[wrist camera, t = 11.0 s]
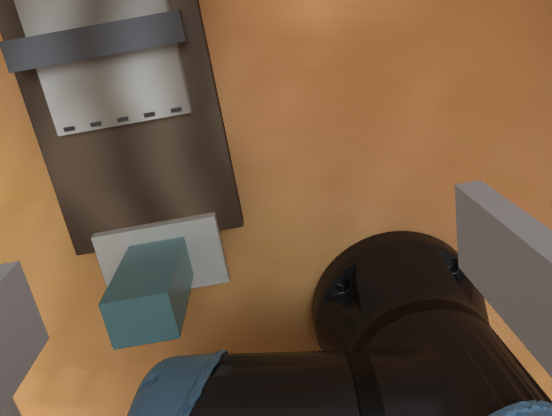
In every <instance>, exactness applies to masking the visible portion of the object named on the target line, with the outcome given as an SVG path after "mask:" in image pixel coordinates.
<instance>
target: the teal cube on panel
mask: <svg viewBox="0 0 552 416" xmlns="http://www.w3.org/2000/svg"><path fill="white" fill-rule="evenodd" d="M91 240H92V243H93V246H94V249H95V252H96V256H97V259H98V262H99V265H100V268H101V271H102V274H103V277H104V280H105V283H106V286H107V289H106V291H105V293H104V295H103V297H102V299H101V301H100V303H99V308H100V311H101V314H102V317H103V320H104V323H105V326H106V329H107V332H108V335H109V338H110V341H111V344H112V347H113V349H114V350H115V349H121V348H126V347H132V346H138V345H144V344H150V343H155V342H161V341H167V340H173V339H179V338H180V337H181V332H182V327H183V322H184V318H185V313H186V308H187V303H188V299H189V294H190V289H193V288H198V287H204V286H210V285H216V284H221V283H227V282H229V279H230V276H229V271H228V267H227V262H226V258H225V253H224V249H223V245H222V240H221V236H220V231H219V227H218V222H217V218H216V214H215V212H212V213H206V214H200V215H195V216H189V217H183V218H178V219H172V220H166V221H160V222H155V223H149V224H143V225H138V226H132V227H126V228H121V229H115V230H109V231H103V232H98V233H94V234H93V236H92V237H91Z"/></svg>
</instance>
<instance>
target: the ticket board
mask: <svg viewBox="0 0 552 416" xmlns="http://www.w3.org/2000/svg"><path fill="white" fill-rule="evenodd" d="M0 32H1V35H2V38H3V41H2V42H0V47H1V50H2V53H3V56H4V59H5V62H6V65H7V68H8V71H9V73H12V72H14V73H15V76H16V79H17V82H18V85H19V88H20V91H21V93H22V96H23V99H24V102H25V105H26V108H27V111H28V114H29V117H30V120H31V123H32V126H33V129H34V132H35V135H36V137H37V140H38V143H39V146H40V149H41V152H42V155H43V158H44V161H45V164H46V167H47V170H48V173H49V176H50V179H51V181H52V184H53V187H54V190H55V193H56V196H57V199H58V202H59V205H60V208H61V211H62V214H63V217H64V220H65V223H66V225H67V228H68V231H69V234H70V237H71V240H72V243H73V246H74V249H75V252H76V255H81V254H87V253H93V252H95V249H94V246H93V243H92V240H91V237H92V236H93V234H94V233H98V232H103V231H109V230H115V229H121V228H126V227H132V226H138V225H143V224H149V223H155V222H160V221H166V220H172V219H178V218H183V217H189V216H195V215H200V214H206V213H212V212H215V214H216V218H217V222H218V227H219V230H224V229H230V228H236V227H241V226H243V215H242V210H241V205H240V200H239V196H238V191H237V186H236V181H235V176H234V171H233V166H232V162H231V157H230V152H229V147H228V142H227V137H226V132H225V128H224V123H223V118H222V113H221V108H220V103H219V98H218V94H217V89H216V84H215V79H214V74H213V69H212V64H211V60H210V55H209V50H208V45H207V40H206V35H205V30H204V25H203V21H202V16H201V11H200V6H199V1H198V0H0Z"/></svg>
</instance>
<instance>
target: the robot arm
mask: <svg viewBox="0 0 552 416" xmlns="http://www.w3.org/2000/svg"><path fill="white" fill-rule="evenodd" d="M455 200H456V222H457V245H458V253H457V252H456V251H455V250H454V249H453V248H452V247H451V246H449V245H448V244H446V243H445V242H443V241H441V240H439V239H437V238H435V237H432V236H430V235H426V234H422V233H417V232H408V231H398V232H388V233H383V234H379V235H375V236H372V237H369V238H367V239H364V240H362V241H360V242H358V243H356V244H354V245H353V246H351V247H350V248H348V249H347V250H345V251H344V252H343V253H342V254H340V255H339V256H338V257H337V258H336V259H335V260H334V261H333V262H332V263H331V264H330V266H329V267H328V268H327V270H326V271H325V272H324V274H323V276H322V277H321V279H320V281H319V283H318V286H317V288H316V291H315V295H314V299H313V308H312V313H313V322H314V327H315V331H316V336H317V340H318V343H319V345H320V347H321V349H322V351H304V352H272V353H231V354H228V351H227V350H219V351H217V352H216V353H213V354H200V355H188V356H175V357H170V358H167V359H165V360H163V361H161V362H159V363H158V364H156V365H155V366H154V367H153V368H152V369H151V370H150V371H149V372H148V374H147V375H146V376H145V378H144V379H143V381H142V383H141V384H140V386H139V388H138V390H137V393H136V395H135V397H134V399H133V402H132V404H131V407H130V409H129V412H128V415H127V416H552V401H551V400H550V399H549V397H548V396H547V395H546V394H545V392H544V391H543V390H542V389H541V388H540V386H539V385H538V384H537V383H536V381H535V380H534V379H533V378H532V377H531V375H530V374H529V373H528V372H527V370H526V369H525V368H524V367H523V366H522V364H521V363H520V362H519V361H518V359H517V358H516V357H515V356H514V354H513V353H512V352H511V351H510V350H509V348H508V347H507V346H506V345H505V343H504V342H503V341H502V340H501V339H500V337H499V336H498V335H497V334H496V332H495V331H494V330H493V329H492V328H491V326H490V325H489V320H488V315H487V310H486V305H485V300H484V298H485V299H486V300H487V301H488V303H489V304H490V305H491V306H492V307H493V309H494V310H495V311H496V312H497V313H498V314H499V316H500V317H501V318H502V319H503V320H504V322H505V323H506V324H507V325H508V326H509V328H510V329H511V330H512V331H513V332H514V333H515V335H516V336H517V337H518V338H519V339H520V341H521V342H522V343H523V344H524V345H525V347H526V348H527V349H528V350H529V351H530V352H531V354H532V355H533V356H534V357H535V358H536V360H537V361H538V362H539V363H540V364H541V366H542V367H543V368H544V369H545V370H546V371H547V373H548V374H549V375H550V376H551V377H552V230H551V229H549V228H548V227H546V226H545V225H544V224H542V223H541V222H539V221H538V220H536V219H535V218H534V217H532V216H531V215H529V214H528V213H526V212H525V211H524V210H522V209H521V208H519V207H518V206H516V205H515V204H514V203H512V202H511V201H509V200H508V199H506V198H505V197H504V196H502V195H501V194H499V193H498V192H497V191H495V190H494V189H492V188H491V187H489V186H488V185H487V184H485V183H484V182H482V181H481V180H479V181H473V182H468V183H462V184H456V185H455ZM48 339H49V336H48V334H47V331H46V329H45V326H44V323H43V321H42V318H41V316H40V313H39V310H38V308H37V305H36V303H35V300H34V298H33V295H32V292H31V290H30V287H29V285H28V282H27V279H26V277H25V274H24V272H23V269H22V267H21V264H20V261H17V262H11V263H5V264H0V416H1V415H2V413H3V411H4V410H5V408H6V407H7V405H8V403H9V402H10V400H11V399H12V397H13V395H14V394H15V392H16V391H17V389H18V387H19V386H20V384H21V382H22V381H23V379H24V378H25V376H26V374H27V373H28V371H29V370H30V368H31V366H32V365H33V363H34V361H35V360H36V358H37V357H38V355H39V353H40V352H41V350H42V349H43V347H44V345H45V344H46V342H47V341H48Z"/></svg>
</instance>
